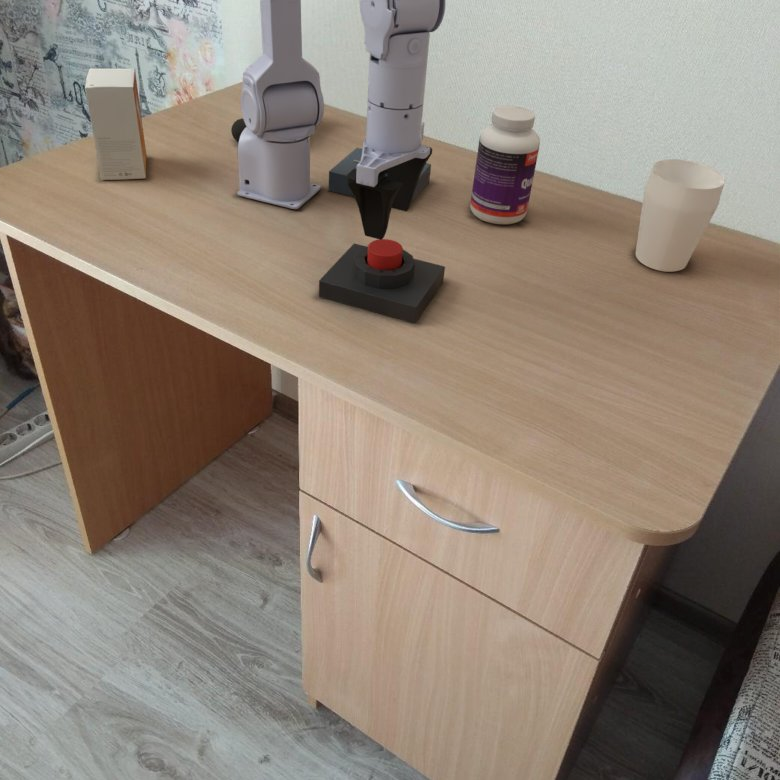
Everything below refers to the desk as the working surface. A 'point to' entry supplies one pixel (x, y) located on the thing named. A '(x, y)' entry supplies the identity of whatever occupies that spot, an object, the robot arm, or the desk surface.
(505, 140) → the pill bottle
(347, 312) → the desk surface
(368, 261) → the lid button
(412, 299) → the button housing
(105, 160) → the small box
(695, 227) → the cup
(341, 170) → the dial panel
